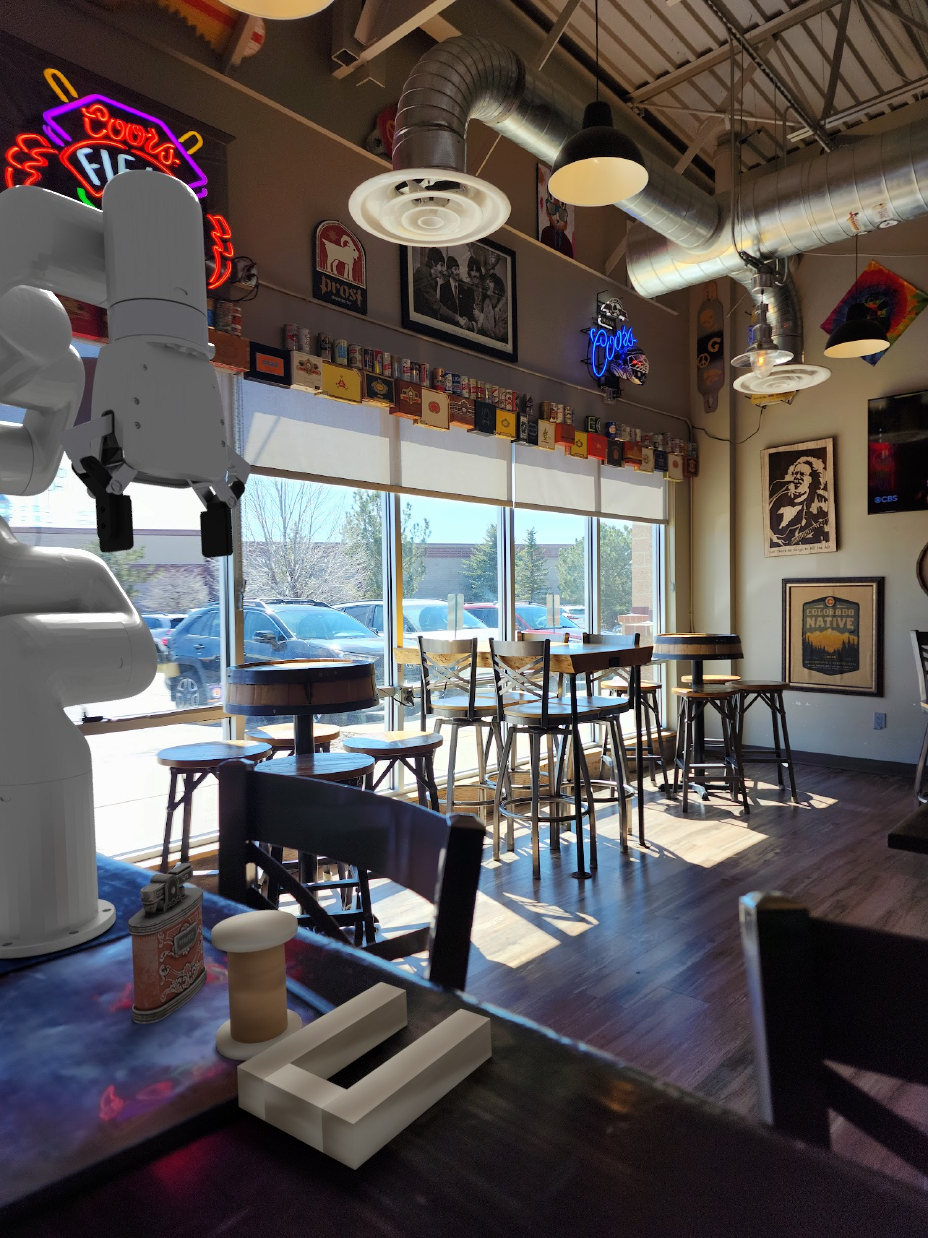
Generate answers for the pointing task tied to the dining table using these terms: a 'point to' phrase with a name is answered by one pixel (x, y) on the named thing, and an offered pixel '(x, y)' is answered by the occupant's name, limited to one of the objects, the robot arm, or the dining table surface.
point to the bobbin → (255, 982)
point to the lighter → (167, 945)
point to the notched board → (380, 1102)
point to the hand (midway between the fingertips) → (170, 553)
